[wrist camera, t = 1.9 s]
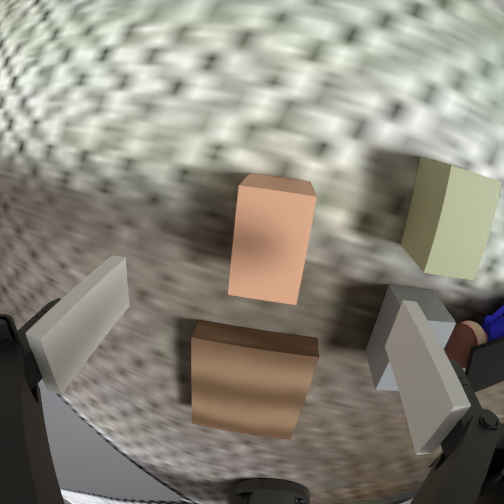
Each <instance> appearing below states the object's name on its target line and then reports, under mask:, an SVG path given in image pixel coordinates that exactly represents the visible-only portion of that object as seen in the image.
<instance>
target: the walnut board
mask: <svg viewBox="0 0 504 504" xmlns="http://www.w3.org/2000/svg"><path fill="white" fill-rule="evenodd" d="M318 359H319V351H318V339H317V338H312V337H304V336H297V335H289V334H282V333H275V332H268V331H262V330H255V329H249V328H243V327H237V326H231V325H225V324H219V323H214V322H208V321H203V320H199V322H198V324H197V326H196V328H195V330H194V333H193V335H192V337H191V386H192V424H197V425H201V426H206V427H211V428H216V429H221V430H226V431H232V432H238V433H244V434H251V435H258V436H265V437H273V438H281V439H291V436H292V434H293V431H294V429H295V426H296V423H297V421H298V418H299V415H300V412H301V409H302V407H303V404H304V401H305V398H306V395H307V392H308V389H309V386H310V383H311V380H312V377H313V374H314V371H315V368H316V365H317V362H318Z"/></svg>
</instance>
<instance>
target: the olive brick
mask: <svg viewBox="0 0 504 504" xmlns="http://www.w3.org/2000/svg"><path fill="white" fill-rule="evenodd" d="M501 184H502V182H499V181H496V180H493V179H491V178H488V177H485V176H482V175H479V174H476V173H474V172H471V171H468V170H464V169H461V168H458V167H455V166H452V165H449V164H445V163H442V162H438V161H435V160H431V159H428V158H424V157H420V159H419V165H418V170H417V175H416V181H415V185H414V190H413V195H412V200H411V204H410V208H409V213H408V217H407V221H406V225H405V229H404V233H403V237H402V241H401V245H402V247H403V248H404V249H405V250H406V251H407V253H408V254H409V255H410V256H411V257H412V259H413V260H414V261H415V262H416V263H417V265H418V266H419V267H420V268H421V270H422V271H423V272H424V273H430V274H436V275H442V276H449V277H455V278H462V279H468V280H474V278H475V276H476V273H477V270H478V267H479V264H480V261H481V258H482V255H483V252H484V249H485V246H486V243H487V239H488V236H489V233H490V229H491V226H492V222H493V218H494V214H495V210H496V206H497V202H498V198H499V194H500V189H501Z"/></svg>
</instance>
